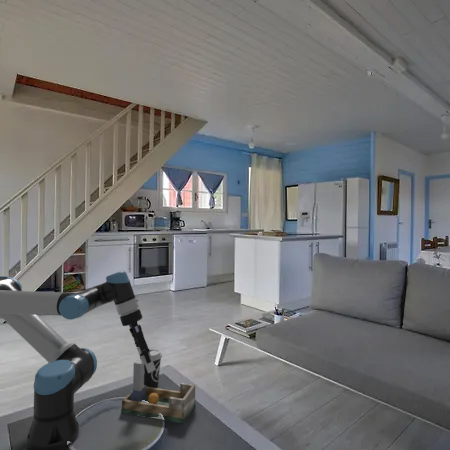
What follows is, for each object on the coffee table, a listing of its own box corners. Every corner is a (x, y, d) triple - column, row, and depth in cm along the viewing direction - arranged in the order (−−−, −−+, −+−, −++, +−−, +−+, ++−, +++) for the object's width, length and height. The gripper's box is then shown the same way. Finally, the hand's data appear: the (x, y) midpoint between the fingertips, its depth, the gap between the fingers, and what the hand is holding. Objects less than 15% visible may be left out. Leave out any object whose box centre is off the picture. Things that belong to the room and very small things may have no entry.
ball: (146, 405, 122) (146, 395, 122) (151, 400, 126) (151, 390, 126) (155, 407, 121) (156, 396, 121) (160, 401, 125) (160, 391, 125)
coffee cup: (154, 379, 147) (155, 346, 147) (165, 386, 140) (166, 352, 140) (135, 385, 140) (136, 351, 141) (146, 394, 133) (146, 358, 134)
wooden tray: (121, 413, 119) (121, 391, 120) (138, 395, 132) (138, 376, 132) (183, 423, 114) (183, 401, 114) (195, 404, 126) (195, 384, 126)
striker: (130, 404, 122) (130, 365, 122) (139, 395, 129) (139, 358, 129) (137, 406, 121) (138, 366, 121) (146, 396, 128) (146, 358, 128)
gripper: (144, 310, 108) (165, 370, 107) (135, 305, 130) (152, 355, 130) (122, 319, 105) (143, 381, 104) (117, 313, 127) (134, 363, 127)
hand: (148, 366), depth 117 cm, fingers open, 13 cm apart
